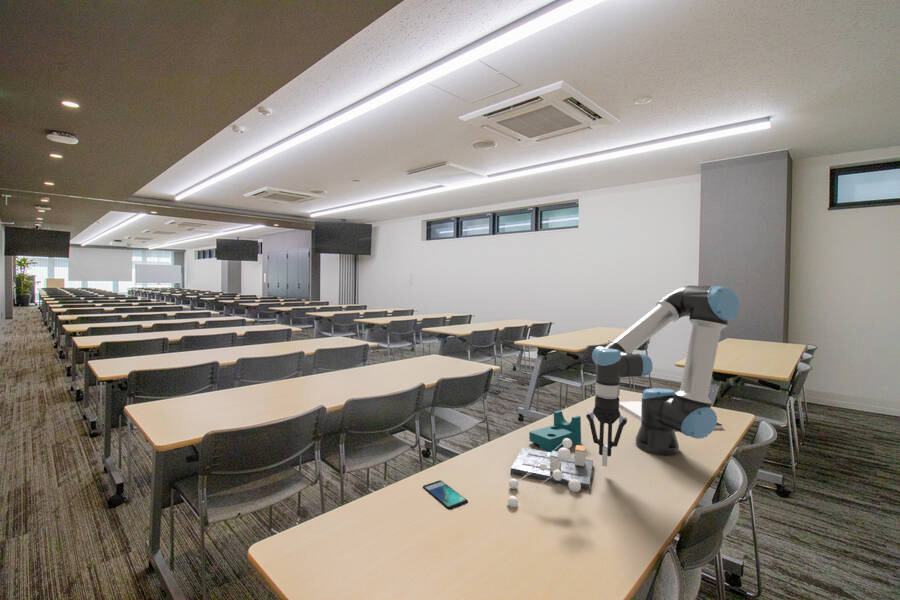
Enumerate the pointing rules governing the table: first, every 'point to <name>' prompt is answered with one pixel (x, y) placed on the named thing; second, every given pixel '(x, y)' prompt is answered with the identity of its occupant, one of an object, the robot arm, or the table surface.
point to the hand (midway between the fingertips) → (604, 464)
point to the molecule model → (557, 474)
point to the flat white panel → (636, 410)
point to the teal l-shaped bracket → (557, 433)
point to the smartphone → (445, 494)
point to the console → (533, 457)
